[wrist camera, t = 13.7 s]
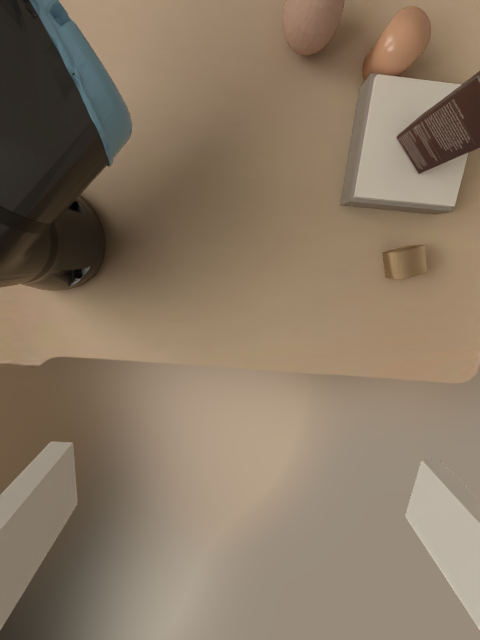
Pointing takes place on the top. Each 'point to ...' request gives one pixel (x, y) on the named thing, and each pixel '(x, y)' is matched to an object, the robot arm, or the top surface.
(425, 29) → the tan round piece
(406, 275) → the oak block
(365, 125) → the podium
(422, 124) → the box
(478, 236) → the top surface
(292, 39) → the egg
